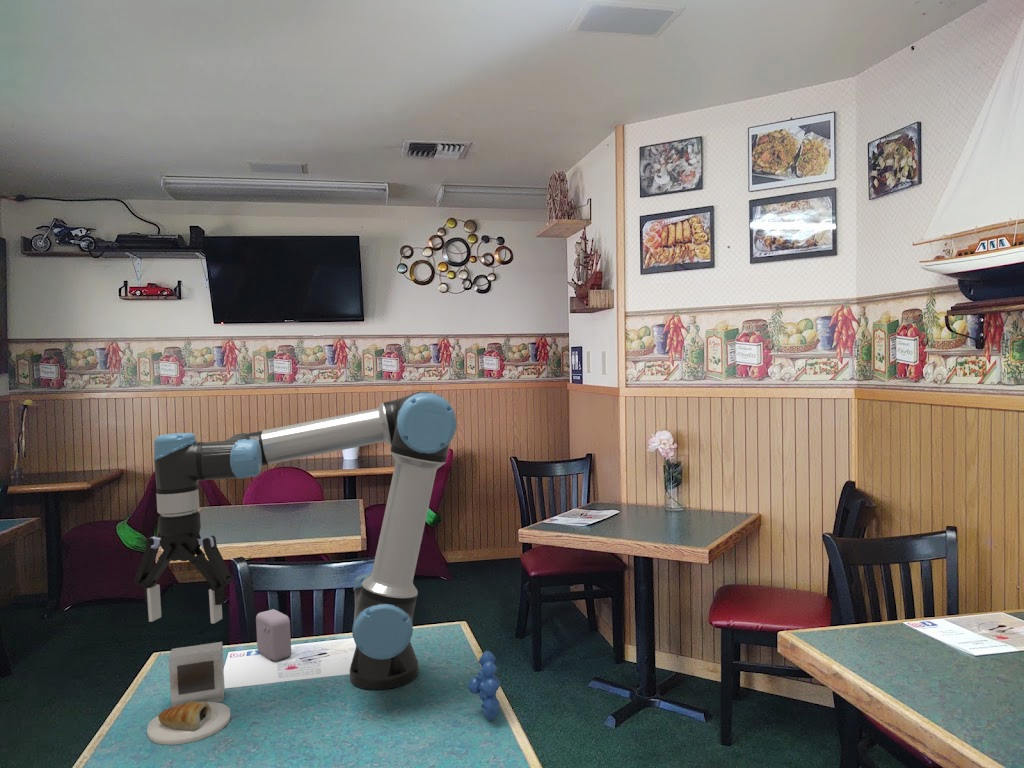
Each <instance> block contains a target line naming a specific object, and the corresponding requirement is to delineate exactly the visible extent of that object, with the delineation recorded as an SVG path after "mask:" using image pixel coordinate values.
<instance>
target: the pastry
mask: <svg viewBox="0 0 1024 768" xmlns="http://www.w3.org/2000/svg"><path fill="white" fill-rule="evenodd" d="M157 716H158V718H159V721H160V723H161V724H162V725H163V726H166V727H170V728H172V729H177V730H182V729H184V730H194V729H198V728H199V727H200V726H201V725H202V724H203V723H204V722H205V720H207V719H208V718H209V717H210V716H211V707H210V705H209V704H208V703H207V702H204V703H198V702H188V703H186V704H180V705H177V706H175V707H171V706H170V707H169V708H167V709H165V710H163V711H161V712H160V713H159V714H158V715H157Z"/></svg>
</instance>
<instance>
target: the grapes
mask: <svg viewBox="0 0 1024 768" xmlns="http://www.w3.org/2000/svg"><path fill="white" fill-rule="evenodd" d="M496 659H497V658H496V656H495V655H494V654H493V653H492V652H491V651H489V650H485V651H484V652H483V653H482V654H481V655H480V657H479V660H478V663H479V665H480V669H479V671H478V672H477V675H478V676H473V677H472V678H471V679H470V680H469V682H468V683H467V685H466V688H468V690H469V691H470V692H471V693H472V695H478V696H479V697H478V698H479V699H480V701H482V704H481V708H482V714H483V716H485V718H487V719H488V720H490V721H494V719H496V717H497V716H498V713H500V712H499V711H500V708H499V706H500V704H501V702H500V700H498V698H497V691H498V690H499V688H500V687H501V684H502V682H501V681H500V680H499V679H498V677H497V676H496V675H495V674H496V673H497V671H498V667H497V666H496V665H495V664H494V663H495V661H496Z"/></svg>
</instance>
